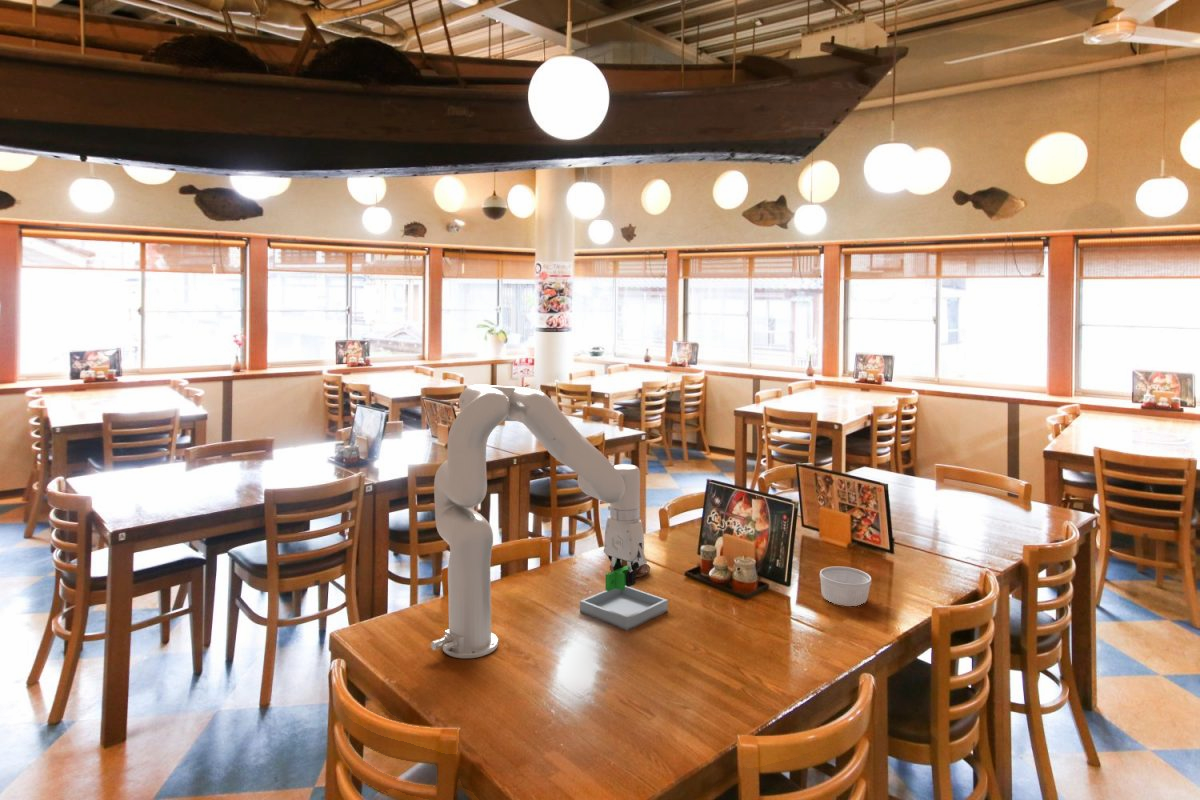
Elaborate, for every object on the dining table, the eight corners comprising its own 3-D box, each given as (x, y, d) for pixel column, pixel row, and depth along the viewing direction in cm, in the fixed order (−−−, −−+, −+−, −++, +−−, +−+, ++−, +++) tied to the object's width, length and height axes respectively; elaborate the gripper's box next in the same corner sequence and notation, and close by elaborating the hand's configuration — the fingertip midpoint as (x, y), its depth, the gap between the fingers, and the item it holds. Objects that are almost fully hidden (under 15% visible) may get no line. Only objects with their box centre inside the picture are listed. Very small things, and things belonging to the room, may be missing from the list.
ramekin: (881, 605, 191) (882, 580, 190) (841, 612, 186) (842, 586, 185) (847, 587, 203) (848, 563, 202) (808, 594, 198) (809, 569, 197)
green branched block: (616, 594, 179) (616, 577, 179) (605, 590, 182) (605, 574, 181) (641, 582, 187) (641, 566, 187) (631, 578, 190) (631, 563, 189)
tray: (627, 630, 174) (627, 618, 174) (579, 612, 185) (580, 600, 185) (667, 611, 186) (667, 599, 186) (620, 594, 197) (620, 583, 196)
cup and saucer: (604, 568, 217) (604, 549, 216) (641, 565, 220) (642, 545, 220) (617, 583, 205) (617, 562, 205) (656, 578, 209) (656, 558, 208)
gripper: (590, 510, 185) (591, 578, 187) (640, 523, 174) (640, 595, 176) (610, 504, 191) (610, 571, 193) (660, 516, 180) (659, 587, 182)
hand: (624, 582), depth 185 cm, fingers closed on green branched block, 3 cm apart
